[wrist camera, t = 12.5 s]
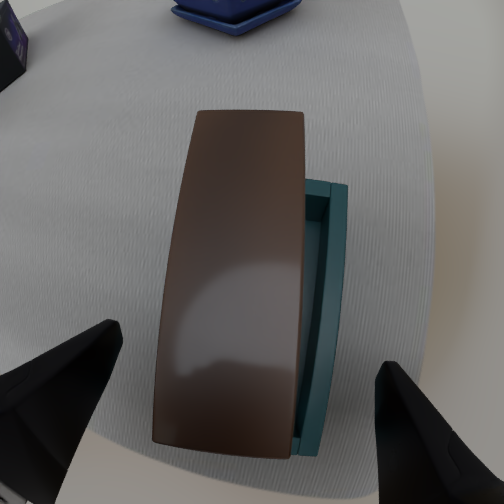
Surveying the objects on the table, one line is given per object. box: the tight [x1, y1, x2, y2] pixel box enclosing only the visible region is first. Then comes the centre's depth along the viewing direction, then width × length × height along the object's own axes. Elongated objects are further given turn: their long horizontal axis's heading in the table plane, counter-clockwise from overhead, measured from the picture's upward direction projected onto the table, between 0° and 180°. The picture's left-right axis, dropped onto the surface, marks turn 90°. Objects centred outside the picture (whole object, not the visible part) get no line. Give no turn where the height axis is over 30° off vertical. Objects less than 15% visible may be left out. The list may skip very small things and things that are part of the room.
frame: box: [152, 110, 305, 459], centre depth 13 cm, size 4×10×11 cm, turn 176°
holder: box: [291, 179, 348, 456], centre depth 17 cm, size 8×14×4 cm, turn 171°
